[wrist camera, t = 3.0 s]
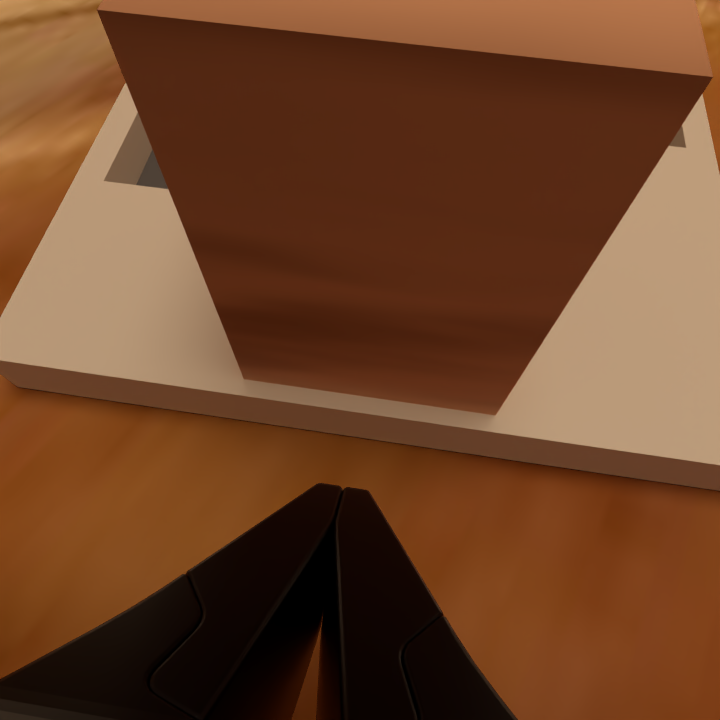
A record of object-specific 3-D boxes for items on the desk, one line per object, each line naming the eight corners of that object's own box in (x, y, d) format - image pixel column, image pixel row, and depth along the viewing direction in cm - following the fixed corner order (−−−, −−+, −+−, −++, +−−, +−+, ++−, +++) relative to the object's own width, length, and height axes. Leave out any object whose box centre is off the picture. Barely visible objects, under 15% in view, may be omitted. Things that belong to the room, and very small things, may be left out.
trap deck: (735, 492, 16) (783, 474, 14) (17, 387, 17) (-21, 357, 15) (670, 107, 24) (696, 64, 22) (179, 52, 25) (166, 6, 23)
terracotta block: (495, 415, 15) (712, 77, 6) (243, 379, 15) (96, 9, 6) (502, 219, 18) (651, -190, 9) (294, 193, 18) (244, -224, 10)
